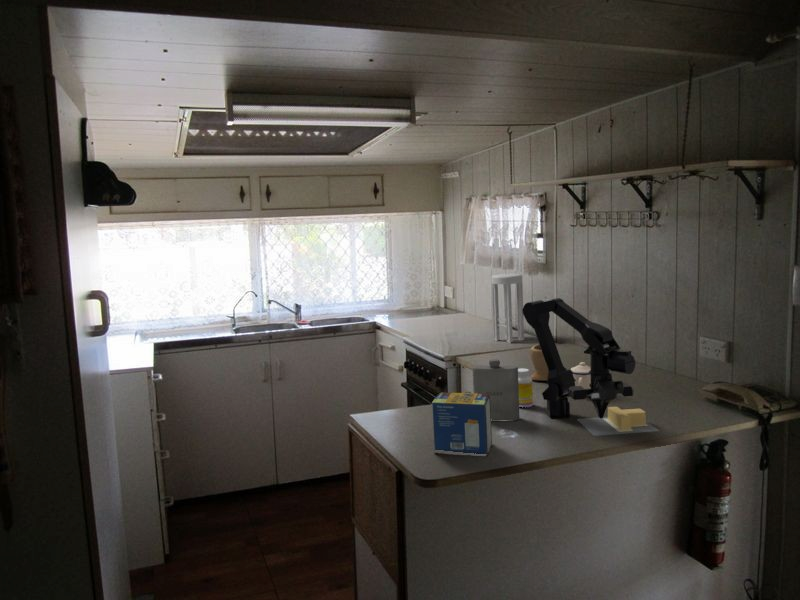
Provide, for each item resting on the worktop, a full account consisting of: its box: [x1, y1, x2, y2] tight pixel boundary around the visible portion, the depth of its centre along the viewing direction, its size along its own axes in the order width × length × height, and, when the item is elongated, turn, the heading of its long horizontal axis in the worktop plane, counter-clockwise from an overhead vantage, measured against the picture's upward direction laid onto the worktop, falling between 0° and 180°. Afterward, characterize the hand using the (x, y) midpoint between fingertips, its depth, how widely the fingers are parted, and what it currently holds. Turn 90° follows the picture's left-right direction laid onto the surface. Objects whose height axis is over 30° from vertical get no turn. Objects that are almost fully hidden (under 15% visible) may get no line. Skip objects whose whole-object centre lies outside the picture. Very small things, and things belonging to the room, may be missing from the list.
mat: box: [576, 416, 660, 437], centre depth 197 cm, size 20×16×1 cm
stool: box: [490, 273, 525, 344], centre depth 334 cm, size 16×16×35 cm
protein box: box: [431, 392, 493, 454], centre depth 183 cm, size 10×15×16 cm
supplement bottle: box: [518, 367, 534, 409], centre depth 221 cm, size 7×7×13 cm
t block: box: [607, 406, 647, 431], centre depth 197 cm, size 9×11×4 cm
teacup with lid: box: [570, 361, 595, 392], centre depth 231 cm, size 12×9×12 cm
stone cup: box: [529, 343, 548, 382], centre depth 252 cm, size 15×12×15 cm
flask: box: [471, 358, 520, 421], centre depth 209 cm, size 15×6×20 cm, turn 74°
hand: (600, 418), depth 196 cm, fingers closed
